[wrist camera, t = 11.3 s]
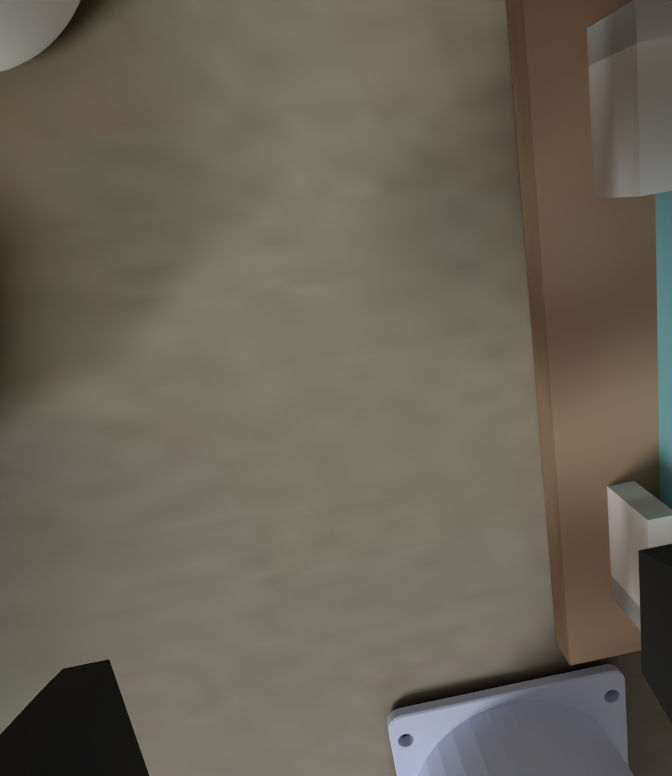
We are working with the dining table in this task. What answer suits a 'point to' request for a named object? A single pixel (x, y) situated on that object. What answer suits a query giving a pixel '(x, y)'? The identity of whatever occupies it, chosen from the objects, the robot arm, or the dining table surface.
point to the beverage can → (30, 27)
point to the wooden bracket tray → (595, 294)
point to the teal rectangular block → (664, 339)
